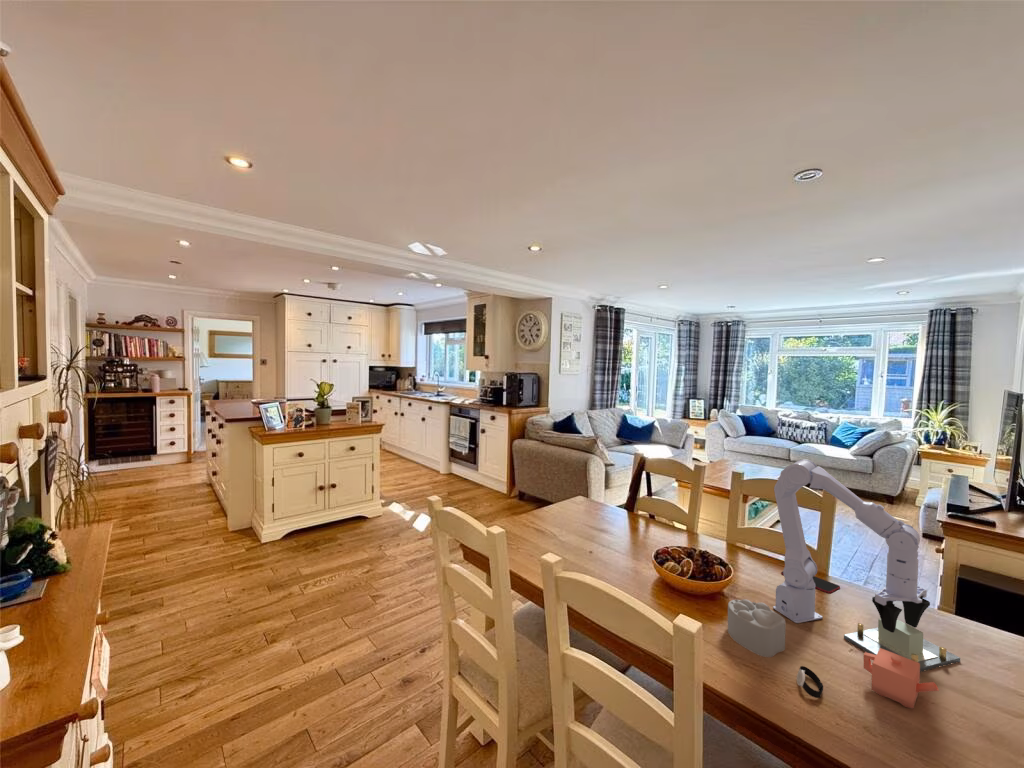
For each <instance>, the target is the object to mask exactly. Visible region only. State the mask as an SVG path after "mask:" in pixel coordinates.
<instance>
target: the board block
mask: <svg viewBox="0 0 1024 768" xmlns="http://www.w3.org/2000/svg"><path fill="white" fill-rule="evenodd" d="M877 624H878V625H877V627H878V638H879V639H881V640H883V641H885V642H886V643H888V644H890V645H891V646H893V647H895V648H897V649H898V650H900V651H902V652H904V653H905V654H907V655H911V654H912V653H913V654H918V653H923V639H924V632H923V631H922V630H919V629H917V627H916V628H914V627H912V626H910V625H908V624H906V623H905V621H904V622H903V621H902V620H900V619H898V618H897V622H896V628H895V631H894V632H890V631H888V630H886V629H884V628H883V625H882V621H881V618H878V622H877Z"/></svg>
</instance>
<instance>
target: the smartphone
mask: <svg viewBox="0 0 1024 768" xmlns="http://www.w3.org/2000/svg"><path fill="white" fill-rule="evenodd" d="M780 574H781V576H784V574H783V571H781V572H780ZM813 580H814V583H815V590H816V589H817V590H819V591H821V592H823V593H826V594H832V593H834V592H835V591H838V590H839V589H841V587H840V585H838V584H836V583H833V582H830V581H828V580H825V579H823V578H820V577H818V576H816V575H815V576H813Z"/></svg>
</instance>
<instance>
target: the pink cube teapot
mask: <svg viewBox="0 0 1024 768" xmlns="http://www.w3.org/2000/svg"><path fill="white" fill-rule="evenodd" d="M872 661H873V662H872ZM863 669H865V670H866V671H867V672H868V673H870V674H871V691H872V692H875V693H876V694H877V695H879V696H881V697H886V698H888V699H890V700H893V701H894V702H895V701H896V702H897V703H899V704H901V705H902V706H903V707H905V708H909V709H912V710H913V709H914V708H915V704H916V702H917V698H918V695H919V693H927V692H939V691H940V690H939V687H938V686H937V684H936V683H935V682H934V681H929V682H921V681H920V679H921V672H920V663H918V662H915V661H913V660H910V659H907V658H905V657H902V656H900V655H897V654H895V653H892V652H889V651H887V650H884V649H882V648H880V649H879V651H878V653H877V655H874V654H870V653H867V652H865V651H864V653H863ZM920 682H921V683H920Z"/></svg>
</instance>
